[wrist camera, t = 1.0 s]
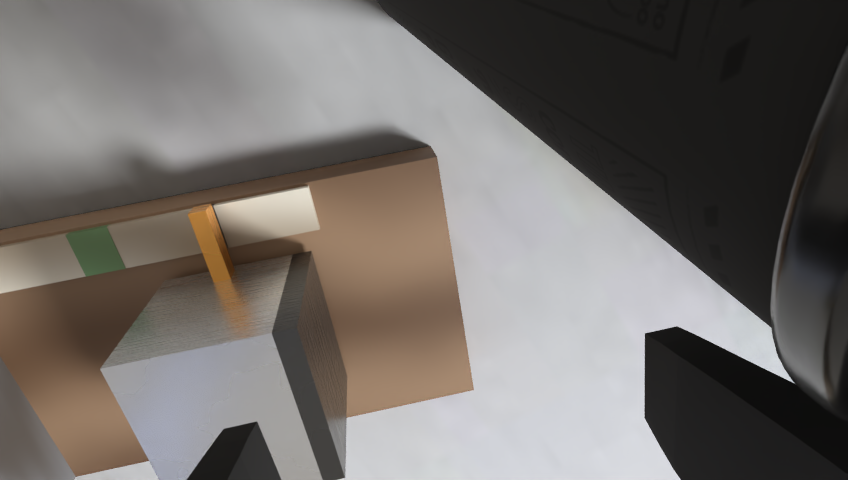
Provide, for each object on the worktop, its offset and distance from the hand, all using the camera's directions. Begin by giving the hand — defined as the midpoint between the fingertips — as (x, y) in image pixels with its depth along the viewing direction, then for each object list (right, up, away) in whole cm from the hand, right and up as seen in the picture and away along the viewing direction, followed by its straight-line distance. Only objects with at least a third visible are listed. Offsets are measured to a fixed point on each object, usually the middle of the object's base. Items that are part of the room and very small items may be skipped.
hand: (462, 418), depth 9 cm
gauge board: (-9, 0, +9) cm, 12 cm away
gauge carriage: (-6, +1, +7) cm, 10 cm away
